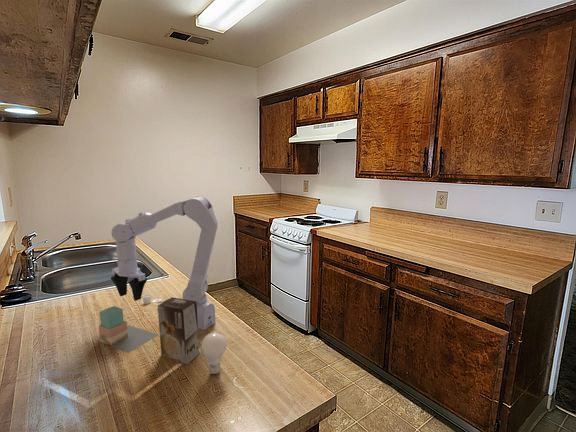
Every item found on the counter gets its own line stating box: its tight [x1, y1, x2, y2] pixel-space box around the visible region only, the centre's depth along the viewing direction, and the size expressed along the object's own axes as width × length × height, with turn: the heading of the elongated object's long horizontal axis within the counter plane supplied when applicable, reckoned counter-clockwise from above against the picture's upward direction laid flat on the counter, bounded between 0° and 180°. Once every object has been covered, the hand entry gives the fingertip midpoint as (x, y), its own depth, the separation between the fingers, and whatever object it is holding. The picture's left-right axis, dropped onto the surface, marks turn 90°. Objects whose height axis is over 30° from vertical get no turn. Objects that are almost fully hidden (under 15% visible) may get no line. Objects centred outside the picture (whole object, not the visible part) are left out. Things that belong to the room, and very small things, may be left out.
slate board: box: [97, 324, 160, 353], centre depth 100 cm, size 14×11×1 cm
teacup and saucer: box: [139, 294, 163, 305], centre depth 127 cm, size 9×8×4 cm
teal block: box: [99, 305, 124, 329], centre depth 98 cm, size 4×4×4 cm
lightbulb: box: [200, 332, 227, 375], centre depth 84 cm, size 6×6×11 cm
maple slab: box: [98, 330, 128, 346], centre depth 99 cm, size 6×6×2 cm
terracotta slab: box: [98, 321, 128, 338], centre depth 99 cm, size 6×6×2 cm
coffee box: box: [157, 296, 201, 365], centre depth 91 cm, size 9×6×16 cm
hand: (130, 297), depth 108 cm, fingers open, 7 cm apart
